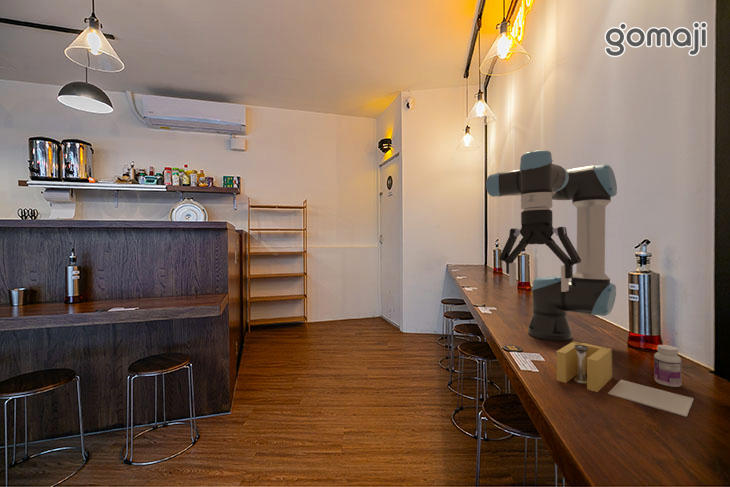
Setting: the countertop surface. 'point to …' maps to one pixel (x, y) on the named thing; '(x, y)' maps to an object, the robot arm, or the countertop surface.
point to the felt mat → (653, 397)
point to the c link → (595, 364)
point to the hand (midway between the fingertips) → (537, 288)
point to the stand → (581, 364)
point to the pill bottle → (667, 366)
